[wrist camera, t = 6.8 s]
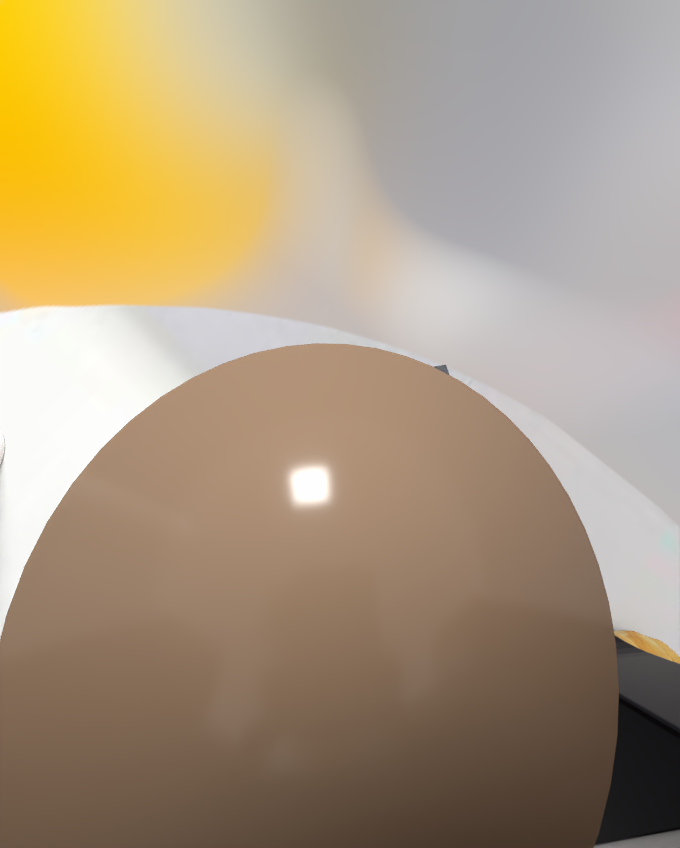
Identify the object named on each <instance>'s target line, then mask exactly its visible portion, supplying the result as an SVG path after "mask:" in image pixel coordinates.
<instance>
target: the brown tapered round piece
mask: <svg viewBox="0 0 680 848" xmlns="http://www.w3.org/2000/svg"><path fill="white" fill-rule="evenodd" d="M618 702H619V683H618V668H617V653H616V642H615V636H614V630H613V624H612V618H611V612H610V606H609V601H608V598H607V594H606V590H605V587H604V583H603V579H602V575H601V572H600V568H599V564H598V562H597V559H596V556H595V554H594V551H593V548H592V546H591V543H590V541H589V538H588V535H587V533H586V530H585V528H584V526H583V524H582V522H581V520H580V518H579V516H578V514H577V511H576V509H575V507H574V505H573V503H572V501H571V499H570V497H569V495H568V494H567V492H566V491H565V489H564V488H563V486H562V484H561V483H560V481H559V480H558V478H557V476H556V475H555V473H554V472H553V470H552V468H551V467H550V465H549V464H548V463H547V462H546V460H545V459H544V458H543V456H542V455H541V454H540V453H539V451H538V450H537V449H536V447H535V446H534V445H533V444H532V442H531V441H530V440H529V439H528V438H527V437H526V436H525V435H524V434H523V433H522V432H521V431H520V429H519V428H518V427H517V426H516V425H515V424H514V423H513V422H512V421H511V420H510V419H509V418H508V417H507V416H506V415H504V414H503V413H502V412H501V411H500V410H499V409H497V408H496V407H495V406H494V405H493V404H491V403H490V402H489V401H488V400H487V399H486V398H484V397H483V396H481V395H480V394H478V393H477V392H475V391H474V390H472V389H471V388H470V387H468V386H467V385H465V384H464V383H462V382H461V381H459V380H457V379H455V378H453V377H452V376H450V375H448V374H446V373H444V372H442V371H440V370H438V369H436V368H434V367H432V366H430V365H427V364H425V363H422V362H419V361H417V360H414V359H412V358H409V357H407V356H403V355H400V354H396V353H392V352H388V351H384V350H381V349H377V348H370V347H363V346H356V345H349V344H306V345H295V346H285V347H281V348H276V349H271V350H266V351H262V352H257V353H253V354H250V355H247V356H244V357H241V358H238V359H235V360H232V361H229V362H226V363H223V364H221V365H219V366H217V367H215V368H213V369H210V370H208V371H206V372H204V373H202V374H200V375H198V376H195V377H193V378H191V379H190V380H188V381H186V382H185V383H183V384H181V385H180V386H178V387H177V388H175V389H173V390H172V391H170V392H168V393H167V394H165V395H163V396H162V397H160V398H159V399H158V400H156V401H155V402H154V403H153V404H151V405H150V406H149V407H147V408H146V409H145V410H144V411H142V412H141V413H140V414H138V415H137V416H136V417H135V418H133V419H132V420H131V421H130V422H128V423H127V424H126V425H125V426H124V427H123V428H122V429H121V430H120V431H119V432H118V433H117V434H116V435H115V436H114V437H113V438H112V439H111V440H110V441H109V442H108V443H107V444H106V445H105V446H104V447H103V448H102V449H101V450H100V451H99V452H98V453H97V455H96V456H95V457H94V458H93V459H92V461H91V462H90V463H89V464H88V465H87V467H86V468H85V469H84V470H83V471H82V473H81V474H80V475H79V476H78V478H77V479H76V480H75V481H74V482H73V484H72V485H71V487H70V488H69V490H68V491H67V493H66V494H65V496H64V497H63V499H62V500H61V502H60V503H59V505H58V507H57V508H56V510H55V511H54V513H53V514H52V516H51V517H50V519H49V520H48V522H47V524H46V526H45V528H44V529H43V531H42V533H41V535H40V537H39V539H38V541H37V543H36V545H35V547H34V549H33V551H32V553H31V555H30V557H29V559H28V561H27V563H26V565H25V567H24V570H23V572H22V575H21V578H20V581H19V583H18V586H17V589H16V591H15V594H14V597H13V599H12V602H11V605H10V607H9V610H8V613H7V615H6V619H5V623H4V627H3V631H2V636H1V640H0V848H594V845H595V842H596V839H597V837H598V834H599V830H600V826H601V822H602V818H603V814H604V810H605V806H606V802H607V798H608V794H609V789H610V785H611V779H612V772H613V764H614V757H615V750H616V742H617V733H618Z"/></svg>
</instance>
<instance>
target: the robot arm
mask: <svg viewBox="0 0 680 848" xmlns="http://www.w3.org/2000/svg"><path fill="white" fill-rule="evenodd" d="M614 636H615V635H614ZM615 642H616V653H617V668H618V683H619V702H618V733H617V742H616V750H615V757H614V764H613V772H612V779H611V785H610V789H609V794H608V798H607V802H606V806H605V810H604V814H603V818H602V822H601V826H600V830H599V834H598V837H597V839H596V842H595V845H594V848H680V664H679V663H676V662H673V661H670V660H668V659H665V658H662V657H659V656H656V655H654V654H651V653H648V652H646V651H644V650H641V649H639V648H637V647H635V646H633V645H631V644H629V643H627V642H625V641H624V640H622V639H620V638H619V637H617V636H615Z"/></svg>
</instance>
